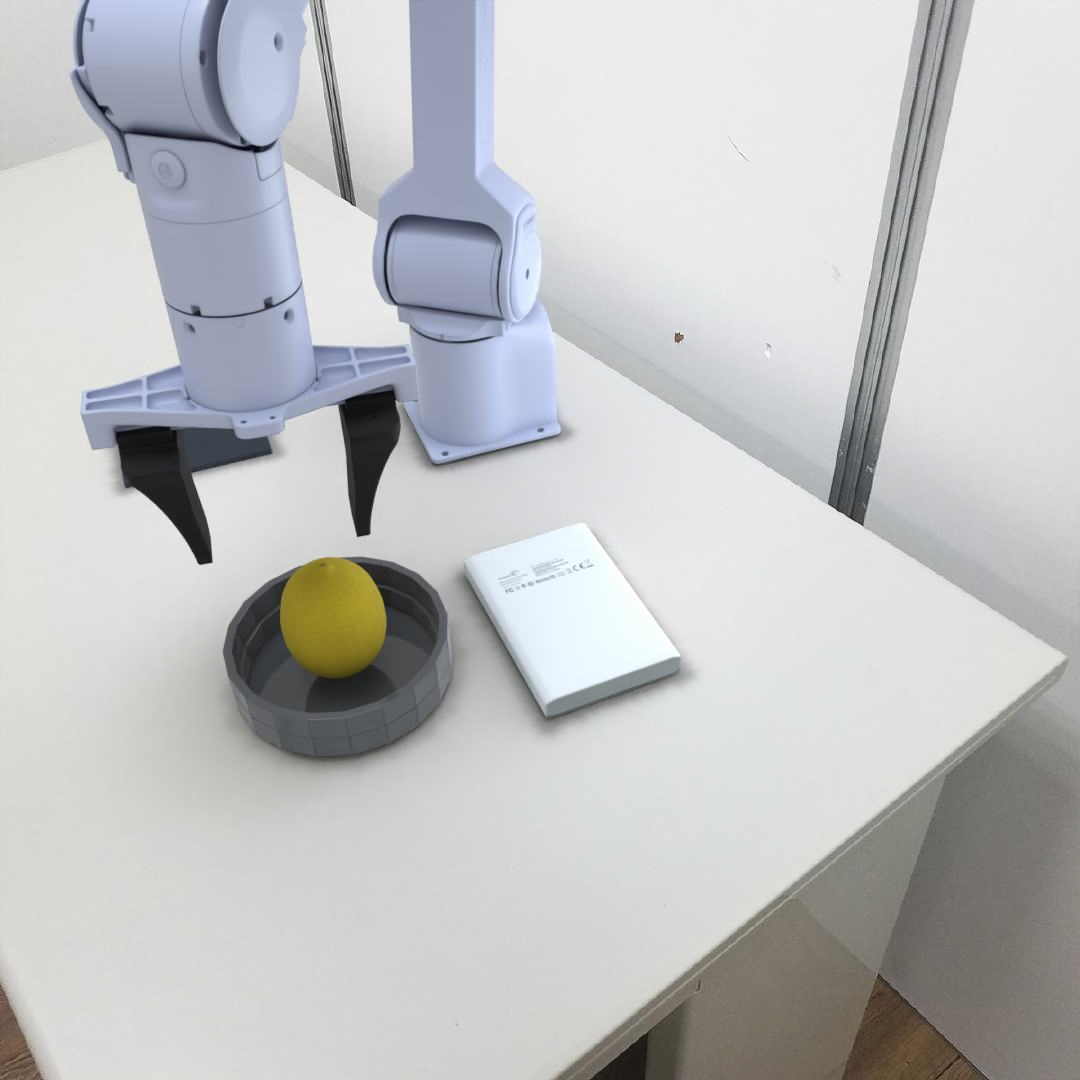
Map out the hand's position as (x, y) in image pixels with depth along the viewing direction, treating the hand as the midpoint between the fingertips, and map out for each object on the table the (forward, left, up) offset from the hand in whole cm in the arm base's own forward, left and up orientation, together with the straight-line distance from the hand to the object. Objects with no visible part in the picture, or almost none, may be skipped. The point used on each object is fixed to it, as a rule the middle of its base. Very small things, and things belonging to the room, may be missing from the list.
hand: (284, 537), depth 55 cm
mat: (+3, -27, -11) cm, 29 cm away
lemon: (-2, 0, -10) cm, 10 cm away
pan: (-2, 0, -11) cm, 11 cm away
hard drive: (-15, +1, -11) cm, 18 cm away
